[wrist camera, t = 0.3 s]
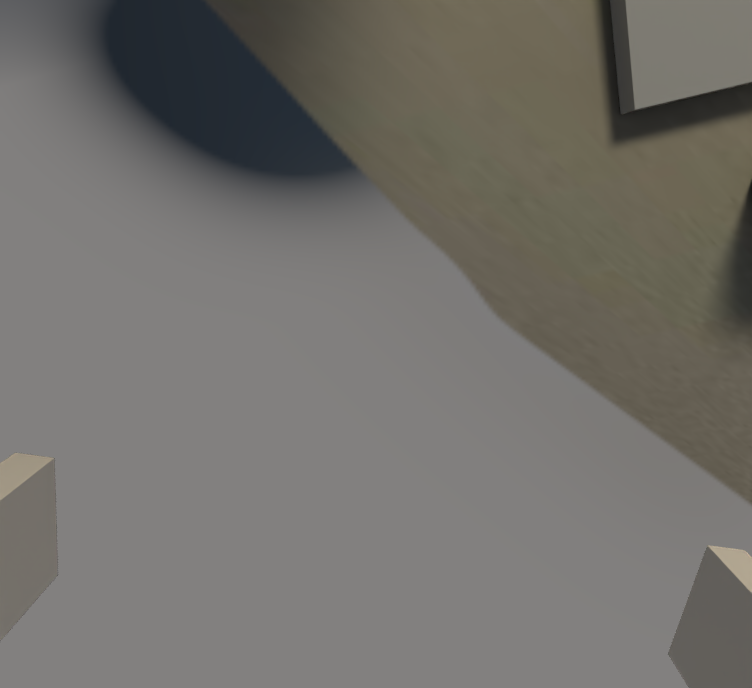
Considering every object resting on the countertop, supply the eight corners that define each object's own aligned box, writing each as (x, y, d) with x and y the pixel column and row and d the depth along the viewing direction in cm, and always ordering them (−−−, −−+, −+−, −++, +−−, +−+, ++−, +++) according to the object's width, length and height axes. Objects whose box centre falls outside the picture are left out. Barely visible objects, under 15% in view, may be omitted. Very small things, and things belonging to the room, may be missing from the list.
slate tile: (603, -65, 31) (618, -82, 29) (779, -112, 30) (806, -133, 28) (620, 114, 33) (634, 109, 31) (782, 76, 33) (807, 68, 31)
